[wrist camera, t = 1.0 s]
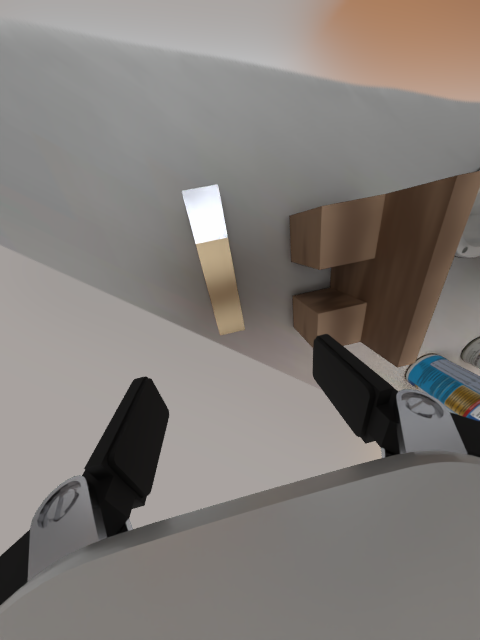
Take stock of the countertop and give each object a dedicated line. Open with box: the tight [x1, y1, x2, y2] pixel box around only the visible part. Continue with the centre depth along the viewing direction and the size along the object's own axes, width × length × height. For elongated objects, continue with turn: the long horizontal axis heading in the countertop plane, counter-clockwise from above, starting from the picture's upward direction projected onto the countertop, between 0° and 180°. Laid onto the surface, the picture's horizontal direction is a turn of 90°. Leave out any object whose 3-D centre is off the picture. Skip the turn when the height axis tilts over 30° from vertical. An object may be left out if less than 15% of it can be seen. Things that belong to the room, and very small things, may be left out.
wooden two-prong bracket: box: [290, 171, 480, 367], centre depth 20 cm, size 8×16×12 cm, turn 10°
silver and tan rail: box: [182, 184, 245, 335], centre depth 20 cm, size 14×3×6 cm, turn 10°
